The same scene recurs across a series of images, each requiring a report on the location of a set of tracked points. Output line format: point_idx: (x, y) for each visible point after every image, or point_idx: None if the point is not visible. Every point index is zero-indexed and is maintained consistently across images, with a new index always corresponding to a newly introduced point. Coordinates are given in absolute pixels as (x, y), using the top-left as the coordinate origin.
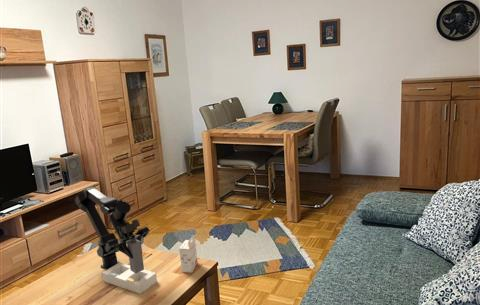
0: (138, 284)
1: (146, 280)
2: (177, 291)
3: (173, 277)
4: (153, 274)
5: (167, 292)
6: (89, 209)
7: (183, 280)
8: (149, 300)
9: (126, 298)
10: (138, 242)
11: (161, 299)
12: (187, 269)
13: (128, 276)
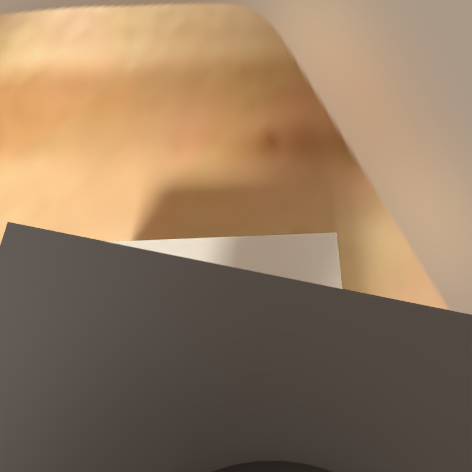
0: (335, 242)
1: (241, 237)
2: (163, 34)
3: (22, 178)
4: (138, 244)
5: (205, 85)
6: None
7: (27, 83)
8: (337, 129)
9: (413, 297)
10: (164, 259)
11: (287, 66)
12: None
13: None
